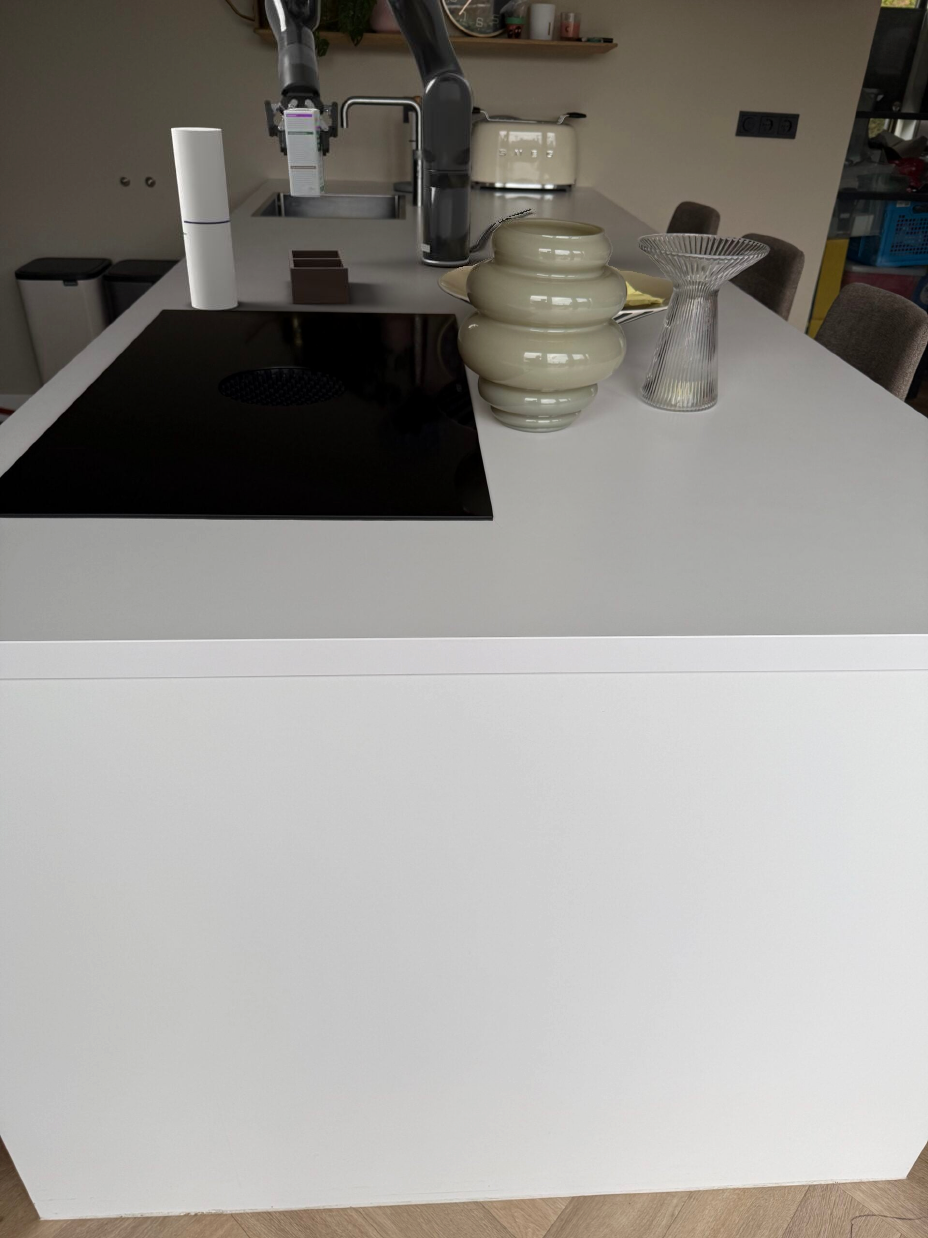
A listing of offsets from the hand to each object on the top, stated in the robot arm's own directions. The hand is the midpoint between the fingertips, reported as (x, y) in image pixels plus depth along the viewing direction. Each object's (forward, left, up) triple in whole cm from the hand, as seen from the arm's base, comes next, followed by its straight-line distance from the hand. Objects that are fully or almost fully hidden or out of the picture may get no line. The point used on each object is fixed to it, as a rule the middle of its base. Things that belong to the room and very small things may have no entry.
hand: (305, 152), depth 170 cm
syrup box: (-1, -1, -8) cm, 8 cm away
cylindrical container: (+38, +10, -20) cm, 44 cm away
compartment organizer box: (+20, +17, -20) cm, 33 cm away
